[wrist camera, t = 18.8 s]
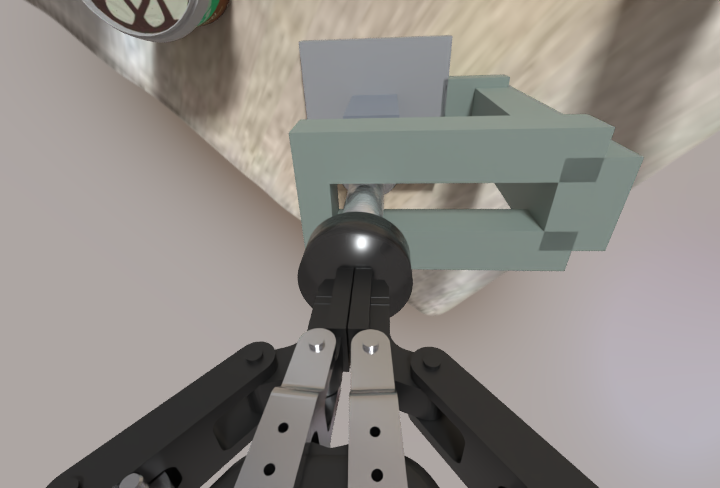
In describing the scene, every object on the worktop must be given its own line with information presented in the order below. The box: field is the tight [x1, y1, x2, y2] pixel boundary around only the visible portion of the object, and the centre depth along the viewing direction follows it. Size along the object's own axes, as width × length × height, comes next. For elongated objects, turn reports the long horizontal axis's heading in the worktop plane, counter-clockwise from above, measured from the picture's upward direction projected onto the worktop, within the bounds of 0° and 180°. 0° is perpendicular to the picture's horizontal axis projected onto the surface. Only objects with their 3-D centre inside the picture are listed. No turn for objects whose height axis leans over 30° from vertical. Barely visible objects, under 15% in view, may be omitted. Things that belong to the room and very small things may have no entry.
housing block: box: [343, 94, 399, 119], centre depth 36 cm, size 5×5×11 cm
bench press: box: [289, 35, 644, 271], centre depth 31 cm, size 23×16×25 cm
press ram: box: [298, 183, 413, 317], centre depth 22 cm, size 5×5×16 cm
